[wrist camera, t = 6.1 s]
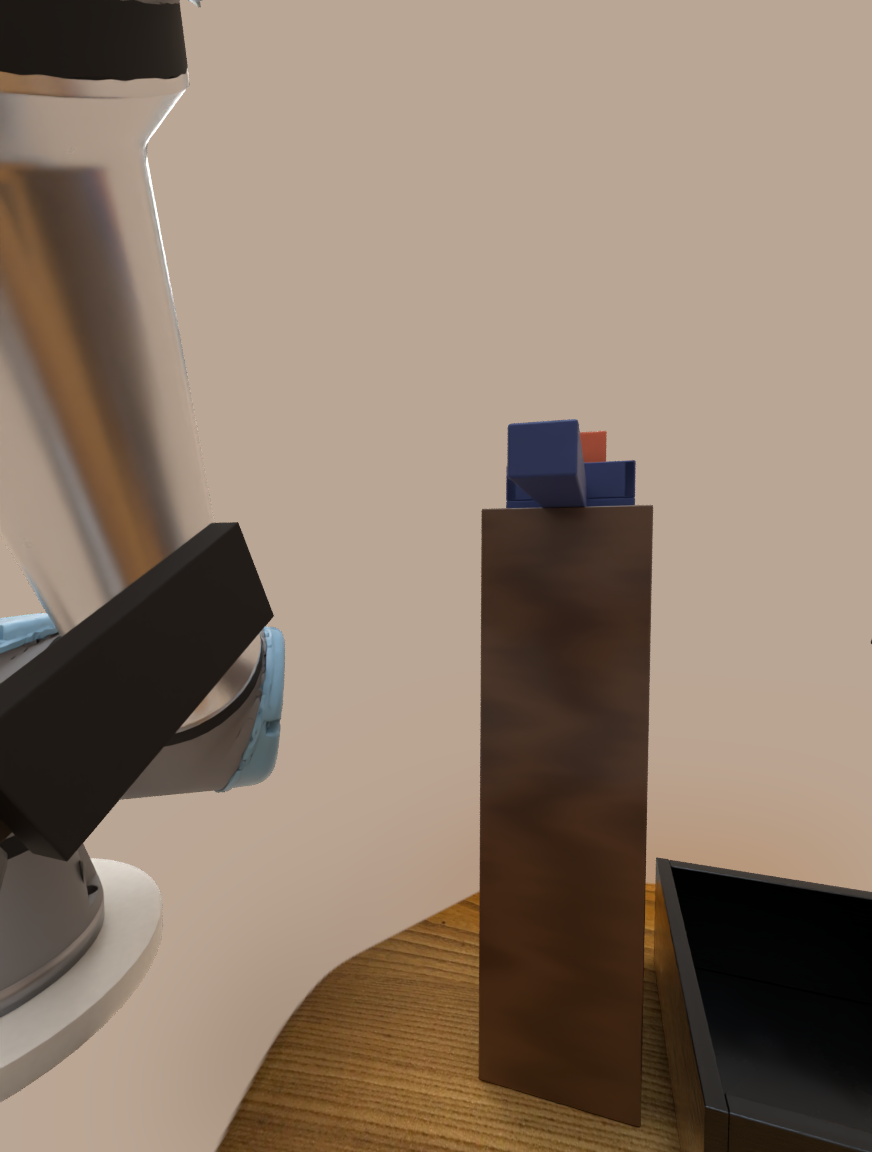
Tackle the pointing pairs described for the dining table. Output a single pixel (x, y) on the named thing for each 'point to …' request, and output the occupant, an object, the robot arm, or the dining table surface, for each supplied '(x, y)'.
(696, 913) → the black square open box
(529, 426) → the blue long-handled scoop
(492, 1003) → the stand
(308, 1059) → the dining table surface
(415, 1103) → the dining table surface
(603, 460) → the block
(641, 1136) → the dining table surface
